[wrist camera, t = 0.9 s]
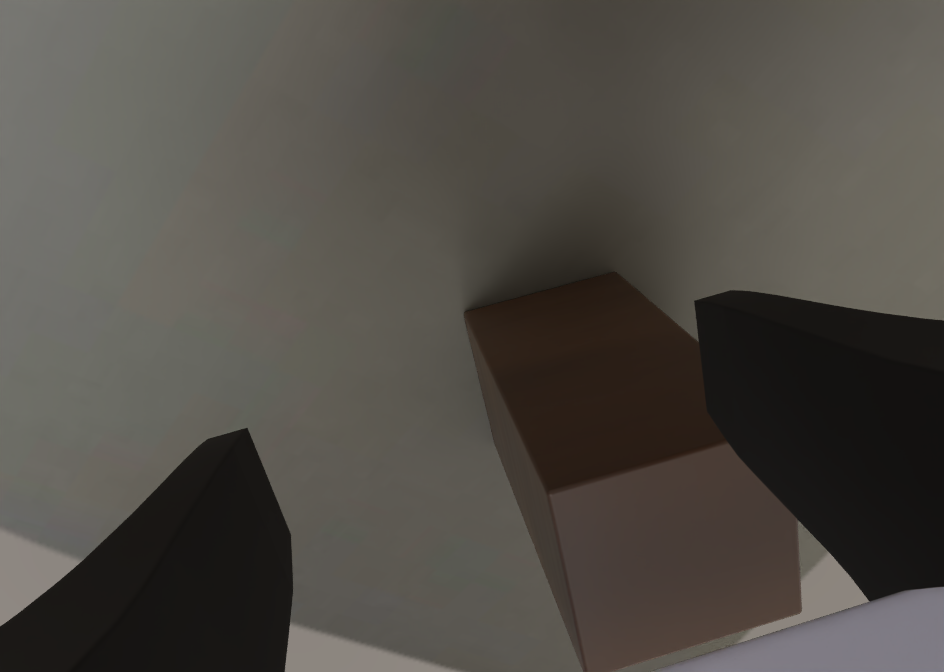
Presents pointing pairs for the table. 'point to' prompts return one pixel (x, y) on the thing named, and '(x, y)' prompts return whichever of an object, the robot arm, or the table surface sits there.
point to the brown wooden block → (628, 475)
